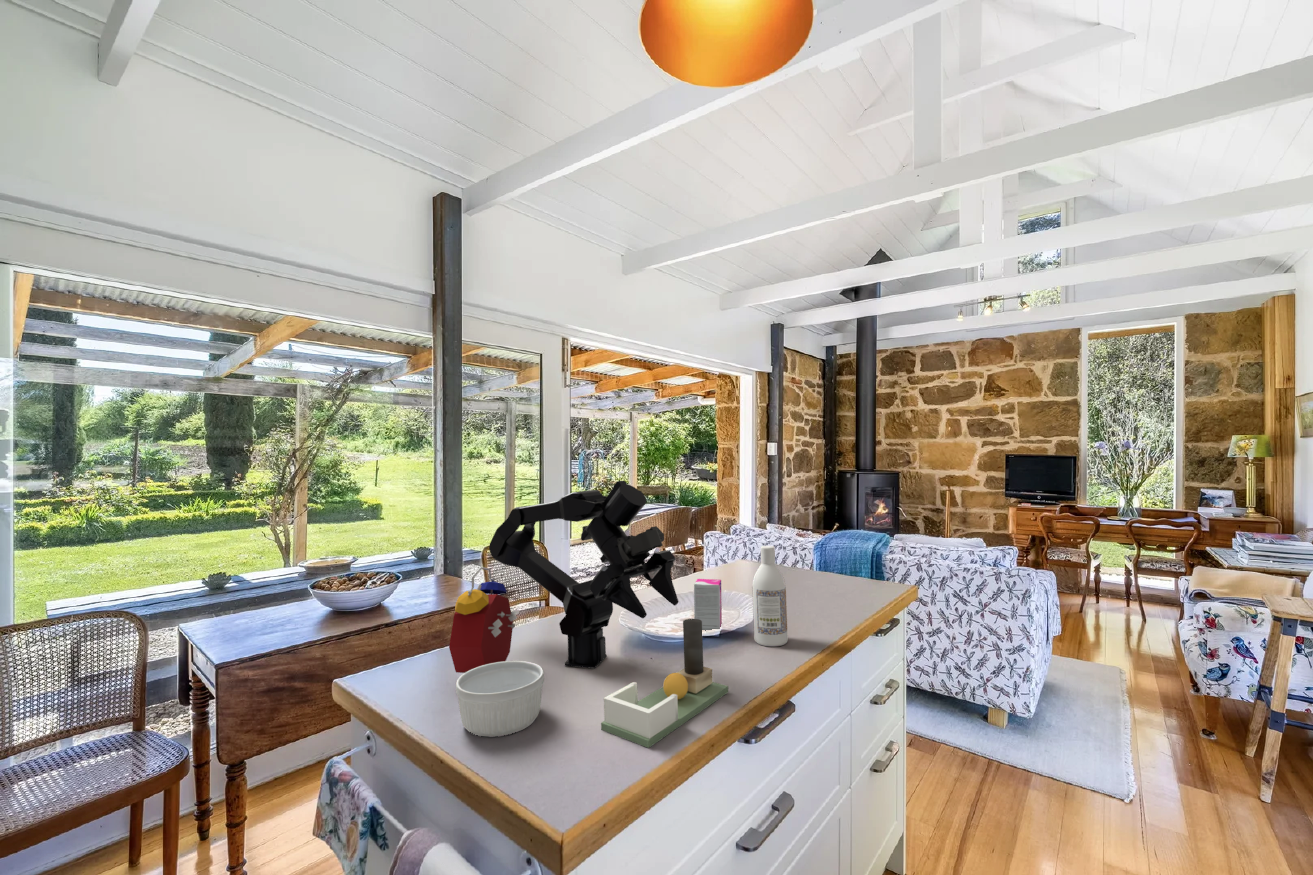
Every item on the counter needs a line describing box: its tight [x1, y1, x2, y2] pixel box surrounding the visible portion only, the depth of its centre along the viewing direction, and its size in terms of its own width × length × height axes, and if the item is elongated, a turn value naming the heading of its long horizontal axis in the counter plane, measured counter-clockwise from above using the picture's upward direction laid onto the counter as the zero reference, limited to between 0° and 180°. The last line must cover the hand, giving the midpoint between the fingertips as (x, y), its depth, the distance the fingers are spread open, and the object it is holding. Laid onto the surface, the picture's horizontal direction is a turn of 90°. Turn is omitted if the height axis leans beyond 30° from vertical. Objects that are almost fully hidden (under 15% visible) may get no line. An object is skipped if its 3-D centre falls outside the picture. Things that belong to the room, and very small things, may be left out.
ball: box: [662, 672, 688, 700], centre depth 90 cm, size 4×4×4 cm
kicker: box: [676, 618, 713, 693], centre depth 94 cm, size 4×5×11 cm
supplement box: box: [693, 578, 723, 631], centre depth 125 cm, size 6×6×12 cm
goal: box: [603, 681, 678, 739], centre depth 83 cm, size 9×7×4 cm
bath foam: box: [751, 545, 789, 647], centre depth 118 cm, size 7×7×20 cm
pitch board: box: [600, 681, 729, 749], centre depth 88 cm, size 9×22×1 cm, turn 142°
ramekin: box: [455, 660, 545, 737], centre depth 87 cm, size 13×13×7 cm
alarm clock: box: [448, 566, 520, 674], centre depth 106 cm, size 15×9×20 cm, turn 173°
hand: (661, 610), depth 98 cm, fingers open, 9 cm apart
